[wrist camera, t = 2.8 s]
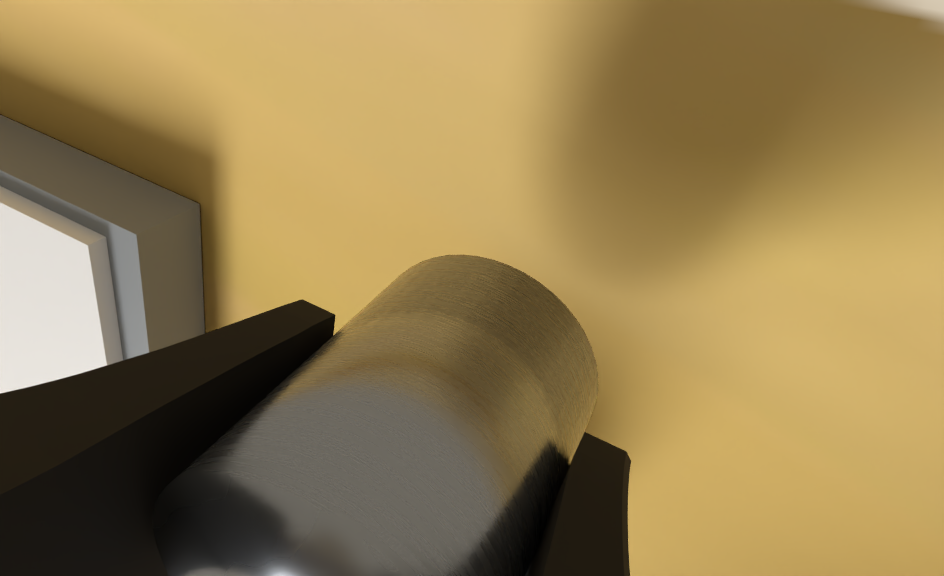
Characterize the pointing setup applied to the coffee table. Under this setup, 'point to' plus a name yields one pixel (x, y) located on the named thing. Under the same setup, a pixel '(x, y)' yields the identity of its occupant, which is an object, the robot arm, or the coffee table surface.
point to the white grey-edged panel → (88, 262)
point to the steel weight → (399, 440)
